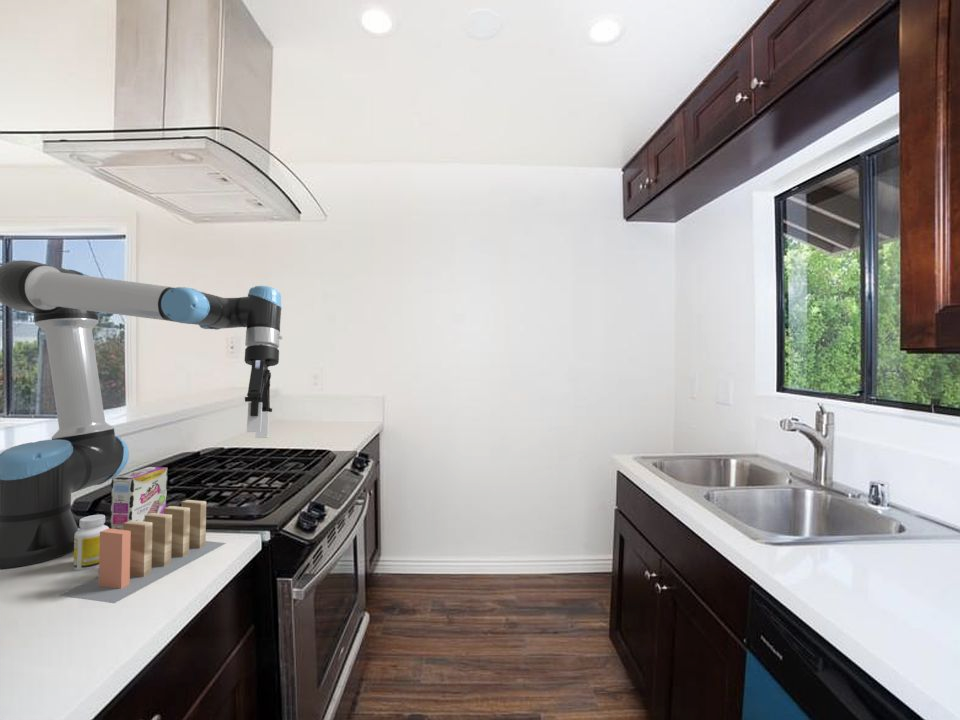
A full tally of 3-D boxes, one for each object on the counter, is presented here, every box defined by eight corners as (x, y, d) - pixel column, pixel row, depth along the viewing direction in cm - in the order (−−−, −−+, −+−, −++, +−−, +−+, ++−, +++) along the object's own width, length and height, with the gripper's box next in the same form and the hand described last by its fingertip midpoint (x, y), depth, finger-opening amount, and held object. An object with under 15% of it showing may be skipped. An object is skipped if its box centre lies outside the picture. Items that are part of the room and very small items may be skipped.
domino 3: (150, 560, 93) (151, 512, 93) (171, 563, 92) (172, 514, 92) (143, 564, 91) (144, 515, 91) (164, 566, 90) (165, 517, 90)
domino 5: (186, 543, 102) (187, 499, 102) (205, 545, 101) (206, 501, 101) (180, 546, 100) (181, 501, 100) (199, 548, 99) (200, 503, 99)
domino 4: (169, 551, 97) (170, 505, 97) (189, 553, 96) (190, 507, 96) (162, 554, 96) (163, 508, 96) (182, 557, 95) (183, 510, 95)
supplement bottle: (115, 560, 93) (116, 513, 93) (90, 572, 88) (91, 523, 88) (92, 558, 94) (93, 512, 94) (65, 570, 88) (67, 521, 88)
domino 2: (130, 570, 88) (131, 520, 88) (151, 573, 87) (152, 522, 88) (122, 574, 87) (123, 523, 87) (143, 576, 86) (145, 525, 86)
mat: (181, 539, 104) (181, 538, 104) (226, 544, 102) (226, 543, 102) (58, 596, 79) (58, 595, 79) (114, 604, 77) (114, 602, 77)
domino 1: (107, 581, 84) (108, 528, 84) (129, 584, 83) (130, 530, 83) (98, 585, 82) (99, 531, 82) (121, 588, 81) (122, 534, 82)
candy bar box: (131, 553, 97) (132, 478, 97) (108, 553, 97) (109, 477, 97) (167, 533, 108) (168, 466, 108) (146, 533, 108) (148, 465, 108)
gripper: (274, 332, 99) (269, 428, 94) (283, 361, 122) (280, 439, 117) (236, 331, 97) (229, 429, 91) (252, 360, 119) (248, 440, 114)
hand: (257, 435), depth 104 cm, fingers open, 13 cm apart
